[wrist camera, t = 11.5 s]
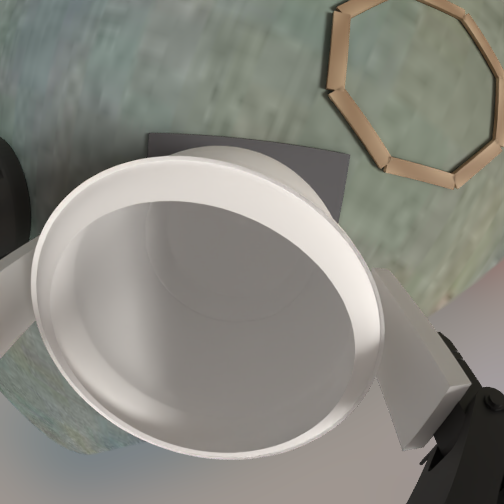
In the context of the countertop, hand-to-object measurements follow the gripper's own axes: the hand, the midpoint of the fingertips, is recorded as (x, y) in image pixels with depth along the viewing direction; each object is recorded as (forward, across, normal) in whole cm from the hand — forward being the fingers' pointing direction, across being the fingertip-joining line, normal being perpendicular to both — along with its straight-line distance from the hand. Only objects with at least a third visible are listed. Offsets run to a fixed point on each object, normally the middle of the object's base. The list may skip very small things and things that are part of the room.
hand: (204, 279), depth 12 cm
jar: (+10, +1, 0) cm, 11 cm away
